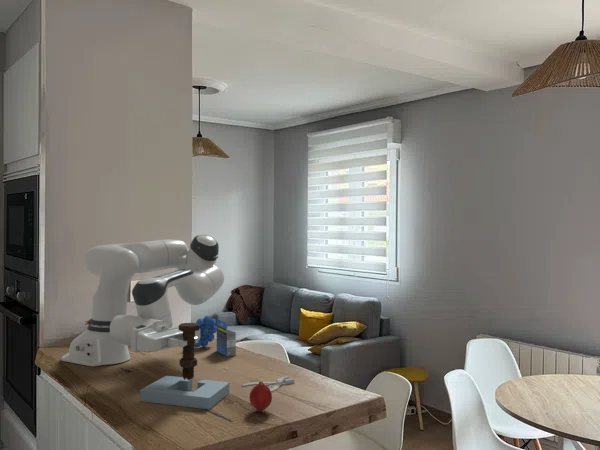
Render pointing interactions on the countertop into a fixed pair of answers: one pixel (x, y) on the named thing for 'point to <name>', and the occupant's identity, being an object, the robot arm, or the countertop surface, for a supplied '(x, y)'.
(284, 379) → the pliers
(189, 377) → the bolt
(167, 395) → the pocket frame
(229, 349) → the label tape box
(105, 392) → the countertop surface
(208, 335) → the grapes
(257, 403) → the onion
